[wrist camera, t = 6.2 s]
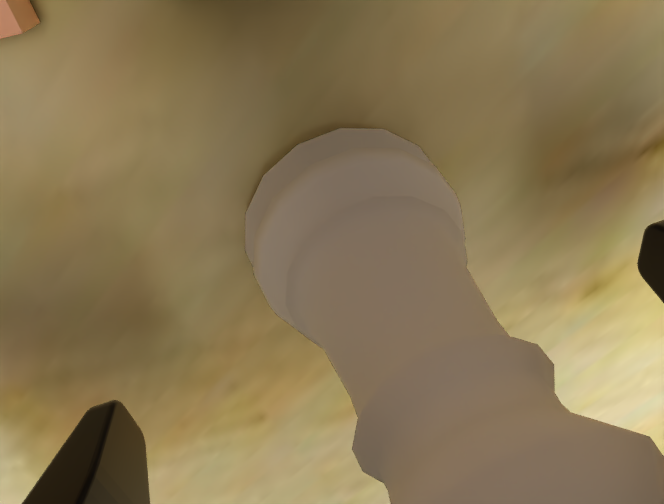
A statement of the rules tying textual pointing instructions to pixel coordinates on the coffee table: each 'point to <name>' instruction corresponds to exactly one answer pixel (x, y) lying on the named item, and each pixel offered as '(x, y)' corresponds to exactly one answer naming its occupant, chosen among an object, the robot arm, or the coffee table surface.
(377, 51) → the coffee table surface
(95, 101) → the coffee table surface
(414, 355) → the rook chess piece
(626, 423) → the coffee table surface
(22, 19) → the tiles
